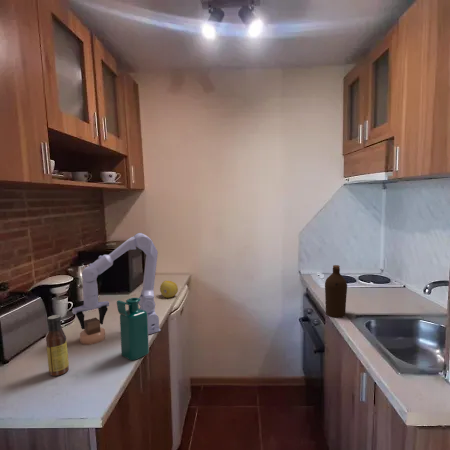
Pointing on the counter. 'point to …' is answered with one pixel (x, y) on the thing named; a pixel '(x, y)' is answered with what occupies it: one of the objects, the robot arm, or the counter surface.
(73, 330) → the counter surface
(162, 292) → the fruit
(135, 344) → the green plastic tall container
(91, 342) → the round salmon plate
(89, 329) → the walnut cube
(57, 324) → the sauce bottle
